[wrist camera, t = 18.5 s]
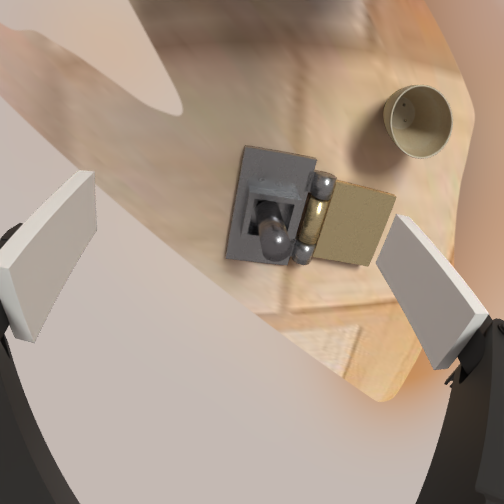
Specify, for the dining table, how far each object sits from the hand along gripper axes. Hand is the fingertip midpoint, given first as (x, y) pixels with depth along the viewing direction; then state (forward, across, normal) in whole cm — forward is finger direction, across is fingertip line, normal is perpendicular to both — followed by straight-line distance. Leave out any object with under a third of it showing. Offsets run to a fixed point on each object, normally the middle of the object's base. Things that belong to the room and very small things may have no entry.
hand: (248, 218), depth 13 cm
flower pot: (+32, +23, +5) cm, 40 cm away
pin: (+31, +7, -14) cm, 35 cm away
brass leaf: (+31, +19, -14) cm, 39 cm away
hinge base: (+32, +9, -14) cm, 36 cm away
